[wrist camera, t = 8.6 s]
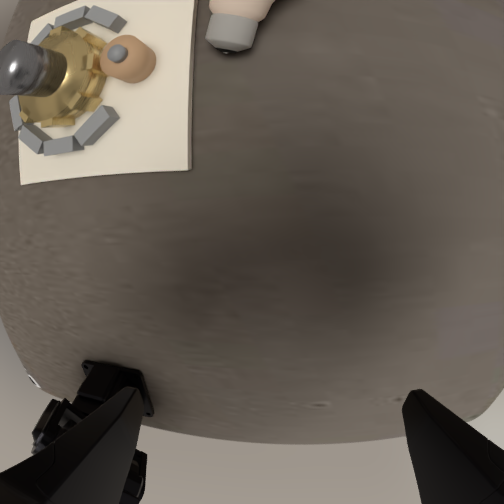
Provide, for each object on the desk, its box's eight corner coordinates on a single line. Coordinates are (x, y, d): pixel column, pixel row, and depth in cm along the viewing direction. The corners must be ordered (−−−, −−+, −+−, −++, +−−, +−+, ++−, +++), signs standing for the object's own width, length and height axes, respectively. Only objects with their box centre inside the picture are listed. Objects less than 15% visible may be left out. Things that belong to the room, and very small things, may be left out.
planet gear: (111, 118, 15) (44, 113, 9) (36, 134, 16) (-30, 141, 9) (118, 24, 13) (63, -12, 7) (42, 50, 13) (-18, 36, 7)
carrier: (191, 169, 17) (173, 175, 14) (28, 182, 18) (-5, 192, 14) (200, -23, 13) (187, -53, 9) (38, 24, 13) (9, 13, 9)
